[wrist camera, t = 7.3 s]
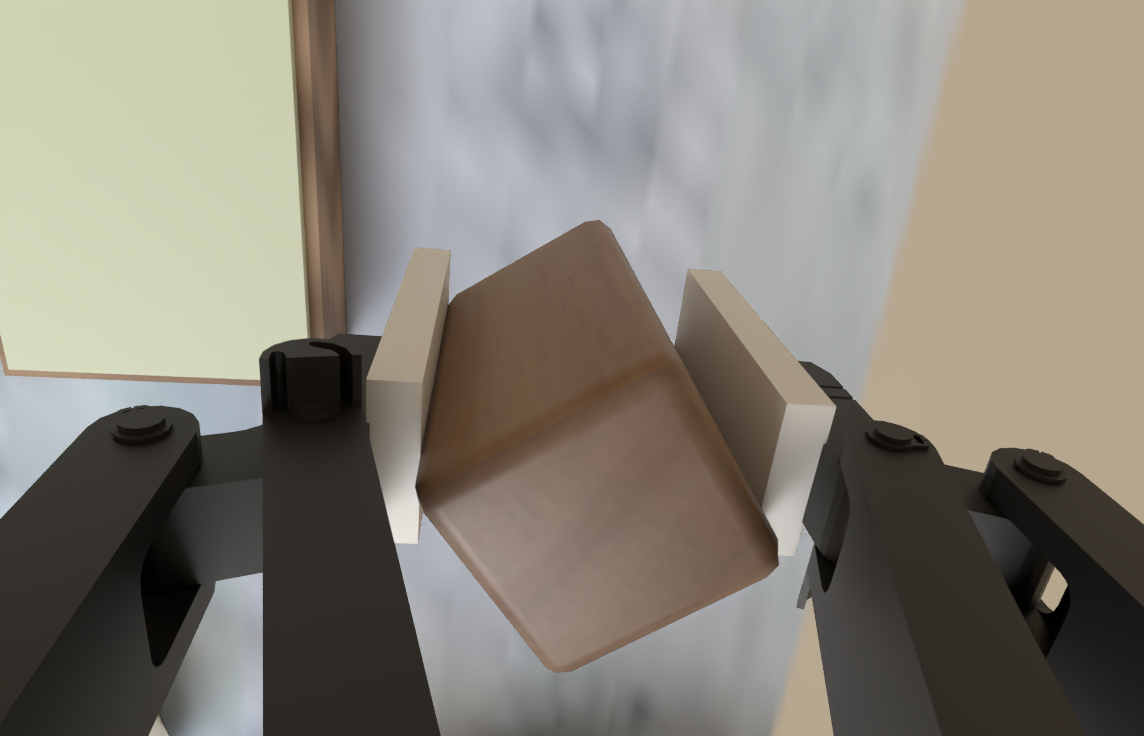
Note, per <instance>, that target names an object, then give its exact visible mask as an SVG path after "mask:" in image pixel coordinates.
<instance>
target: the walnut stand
mask: <svg viewBox="0 0 1144 736" xmlns="http://www.w3.org/2000/svg"><path fill="white" fill-rule="evenodd" d="M337 334H346V308H345V280H344V252H343V224H342V195H341V167H340V139H339V111H338V83H337V55H336V27H335V0H0V357H1V361H2V365H3V370H4V374H5V375H9V376H33V377H57V378H82V379H106V380H131V381H155V382H180V383H204V384H228V385H253V386H261V384H260V369H259V358H260V356H261V354H262V352H263V351H264V350H266V349H268V348H269V347H271V346H273V345H275V344H278V343H282V342H285V341H289V340H296V339H305V338H321V339H330V338H332V337H334V336H335V335H337Z"/></svg>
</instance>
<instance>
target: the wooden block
mask: <svg viewBox="0 0 1144 736" xmlns="http://www.w3.org/2000/svg"><path fill="white" fill-rule="evenodd" d="M415 489H416V494H417V498H418V502H419V506H420V507H421V509H422V511H423V512H424V514H425V515H426V516H427V517H428V519H429V520H430V521H431V522H432V524H433V525H434V526H435V528H436V529H437V530H438V531H439V533H440V534H441V535H442V536H443V538H444V539H445V540H446V541H447V543H448V544H449V545H450V547H451V548H452V549H453V550H454V552H455V553H456V554H457V555H458V557H459V558H460V559H461V561H462V562H463V563H464V564H465V566H466V567H467V568H468V569H469V571H470V572H471V573H472V574H473V576H474V577H475V578H476V580H477V581H478V582H479V583H480V585H481V586H482V587H483V588H484V590H485V591H486V592H487V593H488V595H489V596H490V597H491V599H492V600H493V601H494V602H495V604H496V605H497V606H498V607H499V609H500V610H501V611H502V612H503V614H504V615H505V616H506V618H507V619H508V620H509V621H510V623H511V624H512V625H513V626H514V628H515V629H516V630H517V632H518V633H519V634H520V635H521V637H522V638H523V639H524V640H525V642H526V643H527V644H528V645H529V647H530V648H531V649H532V651H533V652H534V653H535V654H536V656H537V657H538V658H539V659H540V661H541V662H542V663H543V664H544V666H545V667H546V668H548V669H550V670H552V671H554V672H556V673H558V672H568V671H573V670H575V669H577V668H579V667H581V666H583V665H585V664H587V663H589V662H592V661H594V660H596V659H598V658H600V657H602V656H604V655H606V654H608V653H610V652H612V651H614V650H616V649H619V648H621V647H623V646H625V645H627V644H629V643H631V642H633V641H635V640H637V639H639V638H641V637H644V636H646V635H648V634H650V633H652V632H654V631H656V630H658V629H660V628H662V627H664V626H666V625H668V624H671V623H673V622H675V621H677V620H679V619H681V618H683V617H685V616H687V615H689V614H691V613H693V612H695V611H698V610H700V609H702V608H704V607H706V606H708V605H710V604H712V603H714V602H716V601H718V600H720V599H722V598H725V597H727V596H729V595H731V594H733V593H735V592H737V591H739V590H741V589H743V588H745V587H747V586H750V585H752V584H754V583H756V582H758V581H760V580H762V579H764V578H766V577H767V576H768V575H769V574H770V573H771V572H773V571H774V570H775V569H776V568H777V567H778V566H779V562H778V538H777V536H776V534H775V532H774V531H773V529H772V527H771V525H770V523H769V521H768V519H767V518H766V516H765V514H764V512H763V510H762V508H761V506H760V505H759V503H758V501H757V499H756V497H755V495H754V494H753V492H752V490H751V488H750V486H749V484H748V482H747V481H746V479H745V477H744V475H743V473H742V471H741V469H740V468H739V466H738V464H737V462H736V460H735V458H734V456H733V455H732V453H731V451H730V449H729V447H728V445H727V443H726V442H725V440H724V438H723V436H722V434H721V432H720V430H719V429H718V427H717V425H716V423H715V421H714V419H713V418H712V416H711V414H710V412H709V410H708V408H707V406H706V405H705V403H704V401H703V399H702V397H701V395H700V393H699V392H698V390H697V388H696V386H695V384H694V382H693V380H692V379H691V377H690V375H689V373H688V371H687V369H686V367H685V366H684V364H683V362H682V360H681V358H680V356H679V355H678V353H677V351H676V349H675V347H674V345H673V343H672V342H671V340H670V338H669V336H668V334H667V332H666V331H665V329H664V327H663V325H662V323H661V321H660V319H659V318H658V316H657V314H656V312H655V310H654V308H653V306H652V305H651V303H650V301H649V299H648V297H647V295H646V294H645V292H644V290H643V288H642V286H641V284H640V282H639V281H638V279H637V277H636V275H635V273H634V271H633V269H632V268H631V266H630V264H629V262H628V260H627V258H626V257H625V255H624V253H623V251H622V249H621V247H620V245H619V244H618V242H617V240H616V238H615V236H614V234H613V233H612V231H611V229H610V228H609V227H608V226H606V225H605V224H604V223H603V222H601V221H600V220H596V221H588V222H584V223H582V224H581V225H579V226H577V227H575V228H574V229H572V230H570V231H568V232H566V233H565V234H563V235H561V236H559V237H558V238H556V239H554V240H552V241H551V242H549V243H547V244H545V245H544V246H542V247H540V248H538V249H536V250H535V251H533V252H531V253H529V254H528V255H526V256H524V257H522V258H521V259H519V260H517V261H515V262H514V263H512V264H510V265H508V266H506V267H505V268H503V269H501V270H499V271H498V272H496V273H494V274H492V275H491V276H489V277H487V278H485V279H484V280H482V281H480V282H478V283H476V284H475V285H473V286H471V287H469V288H468V289H466V290H464V291H462V292H461V293H459V294H457V295H456V296H455V297H454V299H453V300H452V301H451V303H450V304H449V305H448V309H447V315H446V320H445V326H444V331H443V336H442V342H441V347H440V353H439V358H438V364H437V369H436V374H435V380H434V385H433V391H432V396H431V401H430V407H429V412H428V418H427V423H426V429H425V434H424V439H423V445H422V450H421V456H420V461H419V467H418V472H417V477H416V483H415Z"/></svg>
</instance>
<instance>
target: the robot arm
mask: <svg viewBox="0 0 1144 736" xmlns="http://www.w3.org/2000/svg"><path fill="white" fill-rule="evenodd" d="M450 253H451V250H441V249H428V248H414V251H413V254H412V257H411V259H410V262H409V265H408V267H407V270H406V273H405V276H404V278H403V281H402V284H401V286H400V289H399V292H398V294H397V297H396V300H395V303H394V305H393V308H392V311H391V313H390V316H389V319H388V322H387V324H386V327H385V330H384V332H383V335H382V336H368V335H353V334H337V335H335V336H334V337H332V338H330V339H321V338H305V339H296V340H289V341H285V342H282V343H278V344H275V345H273V346H271V347H269V348H268V349H266V350H264V351H263V352H262V354H261V356H260V358H259V369H260V384H261V399H262V413H263V425H260V426H257V427H254V428H250V429H247V430H242V431H236V432H230V433H222V434H213V435H204V436H200V427H199V421H198V420H197V419H196V417H195V416H194V415H193V414H192V413H190V412H187V411H185V410H183V409H180V408H174V407H166V406H147V405H142V406H134V408H131V407H129V408H125V409H121V410H119V411H117V412H115V413H112V414H110V415H107V416H105V417H102V418H100V419H98V420H97V421H95V422H94V423H93V424H91V425H90V426H88V427H87V428H86V429H85V430H84V431H83V432H82V433H81V434H80V435H79V436H78V437H77V438H76V439H75V441H74V442H73V443H72V444H71V445H70V446H69V447H68V448H67V449H66V450H65V451H64V452H63V453H62V454H61V455H60V456H59V457H58V459H57V460H56V461H55V462H54V463H53V464H52V465H51V466H50V467H49V468H48V469H47V470H46V471H45V472H44V473H43V474H42V475H41V477H40V478H39V479H38V480H37V481H36V482H35V483H34V484H33V485H32V486H31V487H30V488H29V489H28V490H27V491H26V492H25V493H24V495H23V496H22V497H21V498H20V499H19V500H18V501H17V502H16V503H15V504H14V505H13V506H12V507H11V508H10V509H9V510H8V511H7V513H6V514H5V515H4V516H3V517H2V518H1V519H0V736H149V734H150V731H151V729H152V727H153V725H154V723H155V721H156V718H157V716H158V714H159V712H160V710H161V707H162V705H163V703H164V701H165V699H166V696H167V694H168V692H169V690H170V688H171V685H172V683H173V681H174V679H175V677H176V675H177V672H178V670H179V668H180V666H181V664H182V661H183V659H184V657H185V655H186V653H187V650H188V648H189V646H190V644H191V642H192V639H193V637H194V635H195V633H196V631H197V629H198V626H199V624H200V622H201V620H202V618H203V615H204V613H205V611H206V609H207V607H208V604H209V602H210V600H211V598H212V596H213V593H214V590H215V583H216V581H218V580H224V579H229V578H235V577H240V576H246V575H251V574H256V573H262V572H263V736H440V731H439V727H438V723H437V719H436V715H435V710H434V706H433V702H432V698H431V694H430V689H429V685H428V681H427V677H426V673H425V669H424V664H423V660H422V656H421V652H420V648H419V643H418V639H417V635H416V631H415V627H414V623H413V618H412V614H411V610H410V606H409V602H408V597H407V593H406V589H405V585H404V581H403V577H402V572H401V568H400V564H399V560H398V556H397V551H396V547H395V543H410V544H418V540H419V533H420V527H421V521H422V514H423V511H422V509H421V507H420V506H419V502H418V498H417V494H416V489H415V483H416V477H417V472H418V467H419V461H420V456H421V450H422V445H423V439H424V434H425V429H426V423H427V418H428V412H429V407H430V401H431V396H432V391H433V385H434V380H435V374H436V369H437V364H438V358H439V353H440V347H441V342H442V336H443V331H444V326H445V320H446V315H447V309H448V301H449V277H450ZM674 347H675V349H676V351H677V353H678V355H679V356H680V358H681V360H682V362H683V364H684V366H685V367H686V369H687V371H688V373H689V375H690V377H691V379H692V380H693V382H694V384H695V386H696V388H697V390H698V392H699V393H700V395H701V397H702V399H703V401H704V403H705V405H706V406H707V408H708V410H709V412H710V414H711V416H712V418H713V419H714V421H715V423H716V425H717V427H718V429H719V430H720V432H721V434H722V436H723V438H724V440H725V442H726V443H727V445H728V447H729V449H730V451H731V453H732V455H733V456H734V458H735V460H736V462H737V464H738V466H739V468H740V469H741V471H742V473H743V475H744V477H745V479H746V481H747V482H748V484H749V486H750V488H751V490H752V492H753V494H754V495H755V497H756V499H757V501H758V503H759V505H760V506H761V508H762V510H763V512H764V514H765V516H766V518H767V519H768V521H769V523H770V525H771V527H772V529H773V531H774V532H775V534H776V536H777V538H778V556H795V554H796V551H797V547H798V544H799V540H800V536H801V533H802V529H803V526H805V528H806V529H807V531H808V533H809V534H810V536H811V538H812V539H813V541H814V546H813V549H812V553H811V556H810V560H809V563H808V567H807V570H806V574H805V577H804V580H803V584H802V587H801V591H800V594H799V598H798V603H797V608H800V609H804V606H805V603H806V600H807V599H809V598H811V597H812V601H813V607H814V613H815V619H816V626H817V631H818V638H819V645H820V651H821V658H822V664H823V670H824V677H825V683H826V689H827V696H828V702H829V708H830V714H831V721H832V727H833V733H834V736H1144V524H1142V523H1141V522H1140V521H1139V520H1138V519H1136V518H1135V517H1134V516H1133V515H1131V514H1130V513H1129V512H1128V511H1126V510H1125V509H1124V508H1123V507H1122V506H1120V505H1119V504H1118V503H1117V502H1116V501H1114V500H1113V499H1112V498H1111V497H1109V496H1108V495H1107V494H1106V493H1104V492H1103V491H1102V490H1101V489H1100V488H1098V487H1097V486H1096V485H1095V484H1093V483H1092V482H1091V481H1090V480H1089V479H1087V478H1086V477H1085V476H1084V475H1082V474H1081V473H1080V472H1078V471H1077V470H1075V469H1074V468H1072V467H1071V466H1069V465H1068V464H1066V463H1063V462H1061V461H1059V460H1057V459H1055V458H1054V457H1053V456H1052V455H1050V454H1047V453H1044V452H1041V453H1039V451H1036V450H1033V449H1026V450H1025V449H1018V448H1000V449H998V450H996V451H994V452H992V454H991V456H990V459H989V461H988V464H987V467H986V469H985V472H984V473H981V472H977V471H972V470H967V469H963V468H958V467H953V466H948V465H945V464H944V463H943V461H942V459H941V457H940V455H939V454H938V452H937V450H936V448H935V447H934V446H933V445H932V443H931V442H930V441H929V440H928V439H926V438H925V437H924V436H923V435H920V434H918V433H917V432H915V431H912V430H910V429H907V428H905V427H903V426H900V425H896V424H893V423H888V422H884V421H875V420H873V419H872V418H871V417H870V416H869V415H868V414H867V412H866V411H865V410H864V409H863V408H862V407H861V406H860V405H859V404H858V403H857V402H856V400H852V398H853V397H852V396H851V395H850V394H849V393H848V392H847V391H846V390H845V389H843V386H842V385H841V384H840V383H839V382H838V381H837V380H836V379H835V378H834V377H833V375H832V374H830V373H829V372H827V371H825V370H823V369H822V368H820V367H818V366H816V365H815V364H813V363H811V362H801V361H797V360H796V359H795V358H794V356H793V355H792V354H791V353H790V352H789V351H788V349H787V348H786V347H785V346H784V345H783V344H782V342H781V341H780V340H779V339H778V338H777V337H776V335H775V334H774V333H773V332H772V331H771V330H770V328H769V327H768V326H767V325H766V324H765V323H764V321H763V320H762V319H761V318H760V317H759V316H758V314H757V313H756V312H755V311H754V310H753V309H752V307H751V306H750V305H749V304H748V303H747V302H746V300H745V299H744V298H743V297H742V296H741V295H740V293H739V292H738V291H737V290H736V289H735V288H734V286H733V285H732V284H731V283H730V282H729V281H728V279H727V278H726V277H725V276H724V275H723V274H722V272H721V271H708V270H695V269H688V271H687V277H686V283H685V289H684V294H683V300H682V306H681V312H680V317H679V323H678V329H677V335H676V340H675V346H674ZM1055 567H1056V569H1057V570H1058V571H1059V572H1060V573H1061V574H1062V576H1063V577H1064V579H1065V580H1066V582H1067V584H1068V586H1067V588H1066V590H1065V592H1064V594H1063V596H1062V598H1061V601H1060V603H1059V605H1058V607H1057V608H1056V609H1055V610H1054V611H1052V610H1051V609H1049V608H1048V607H1047V605H1046V604H1045V603H1044V602H1043V601H1042V600H1041V597H1042V594H1043V592H1044V590H1045V588H1046V586H1047V583H1048V581H1049V579H1050V577H1051V575H1052V572H1053V570H1054V568H1055Z"/></svg>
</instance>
